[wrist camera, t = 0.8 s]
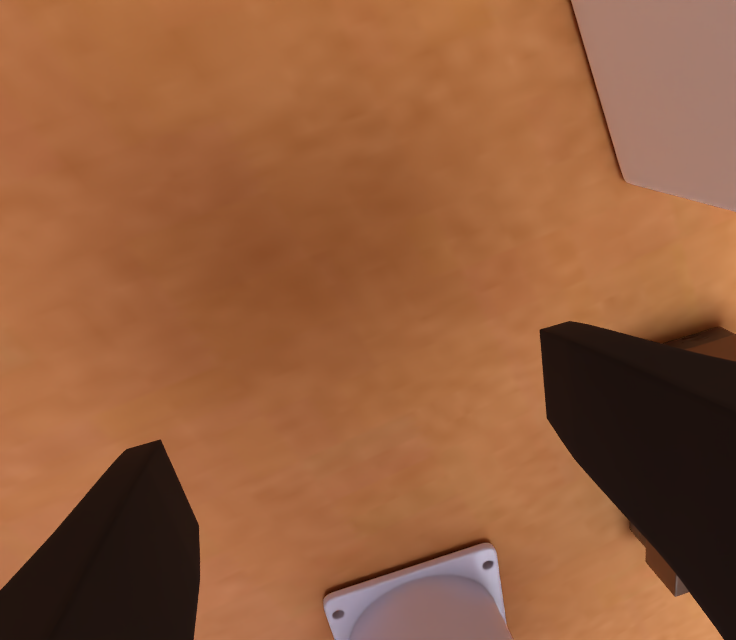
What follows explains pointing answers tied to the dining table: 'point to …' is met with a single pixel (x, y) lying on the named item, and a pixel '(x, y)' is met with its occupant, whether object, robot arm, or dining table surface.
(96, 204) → the dining table surface
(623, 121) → the milk carton
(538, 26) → the dining table surface
